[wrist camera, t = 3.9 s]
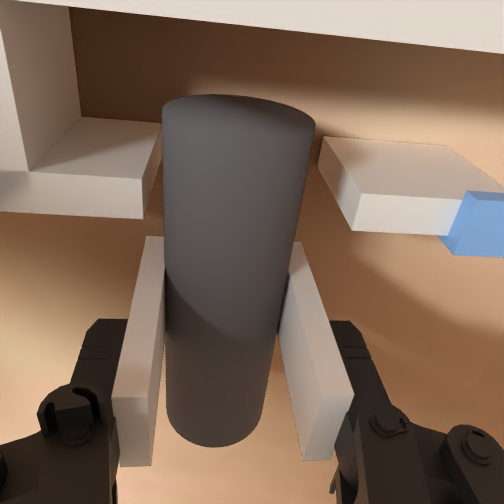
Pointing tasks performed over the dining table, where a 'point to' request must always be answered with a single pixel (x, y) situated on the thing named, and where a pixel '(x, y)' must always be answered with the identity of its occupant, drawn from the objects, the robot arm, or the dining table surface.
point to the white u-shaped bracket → (150, 134)
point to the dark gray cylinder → (227, 254)
